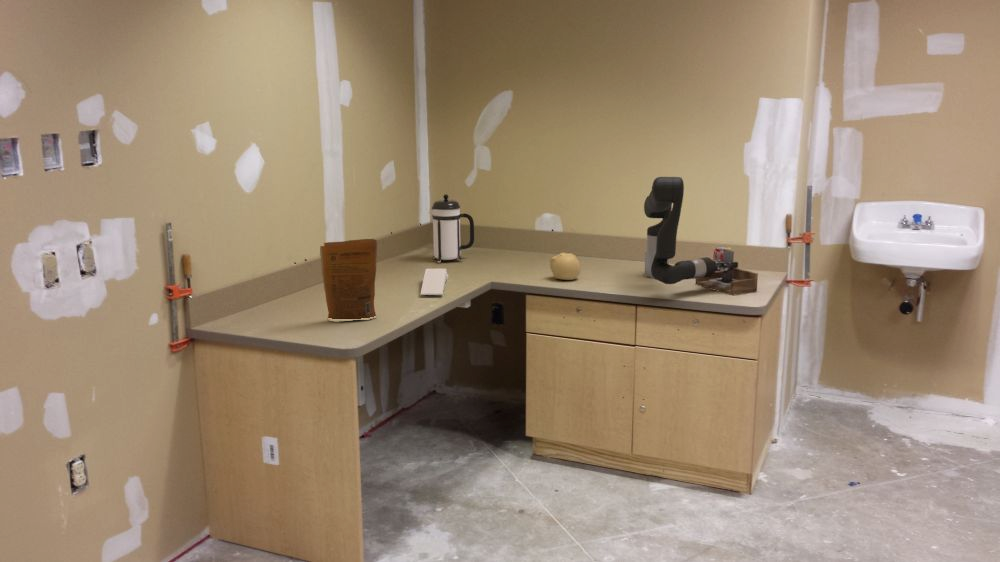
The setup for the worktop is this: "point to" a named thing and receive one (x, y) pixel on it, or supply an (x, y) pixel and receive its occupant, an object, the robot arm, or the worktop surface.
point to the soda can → (719, 253)
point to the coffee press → (448, 229)
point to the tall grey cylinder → (727, 258)
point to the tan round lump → (565, 266)
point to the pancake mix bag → (349, 278)
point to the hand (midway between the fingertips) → (733, 263)
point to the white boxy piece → (434, 281)
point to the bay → (740, 282)
